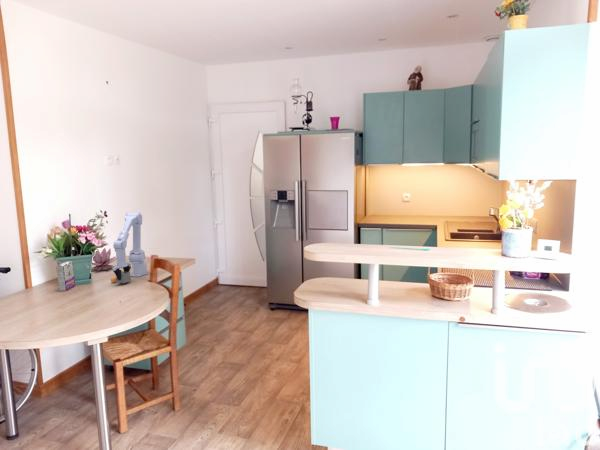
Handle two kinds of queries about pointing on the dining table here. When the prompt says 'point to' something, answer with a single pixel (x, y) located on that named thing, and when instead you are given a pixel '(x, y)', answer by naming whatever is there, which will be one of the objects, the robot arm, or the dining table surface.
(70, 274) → the candy bar box
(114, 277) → the ball
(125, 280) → the grey cube
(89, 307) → the dining table surface
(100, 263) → the decorative flower
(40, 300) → the dining table surface
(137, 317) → the dining table surface
